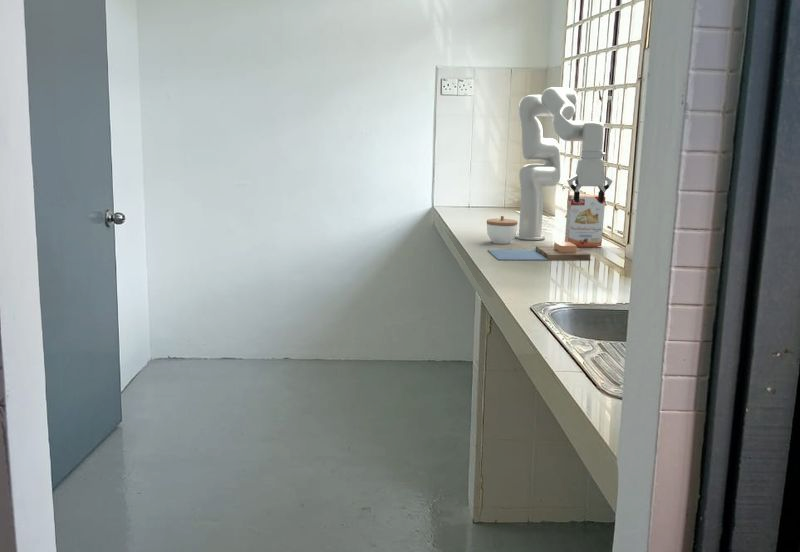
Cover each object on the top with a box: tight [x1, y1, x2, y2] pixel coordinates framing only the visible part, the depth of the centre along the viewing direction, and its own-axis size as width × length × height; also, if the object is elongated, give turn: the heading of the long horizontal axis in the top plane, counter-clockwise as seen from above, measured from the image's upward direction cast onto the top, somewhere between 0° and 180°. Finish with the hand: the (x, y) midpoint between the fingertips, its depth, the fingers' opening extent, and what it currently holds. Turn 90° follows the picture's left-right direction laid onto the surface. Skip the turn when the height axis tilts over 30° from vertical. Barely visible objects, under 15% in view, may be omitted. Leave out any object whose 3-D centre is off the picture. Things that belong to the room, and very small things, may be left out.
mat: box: [487, 249, 549, 261], centre depth 303 cm, size 20×18×1 cm
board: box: [534, 245, 591, 261], centre depth 304 cm, size 18×16×2 cm
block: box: [553, 241, 577, 252], centre depth 304 cm, size 9×6×2 cm, turn 5°
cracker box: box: [564, 194, 606, 248], centre depth 324 cm, size 14×6×21 cm, turn 92°
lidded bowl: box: [486, 215, 518, 245], centre depth 331 cm, size 13×13×11 cm
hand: (588, 202), depth 301 cm, fingers open, 8 cm apart
